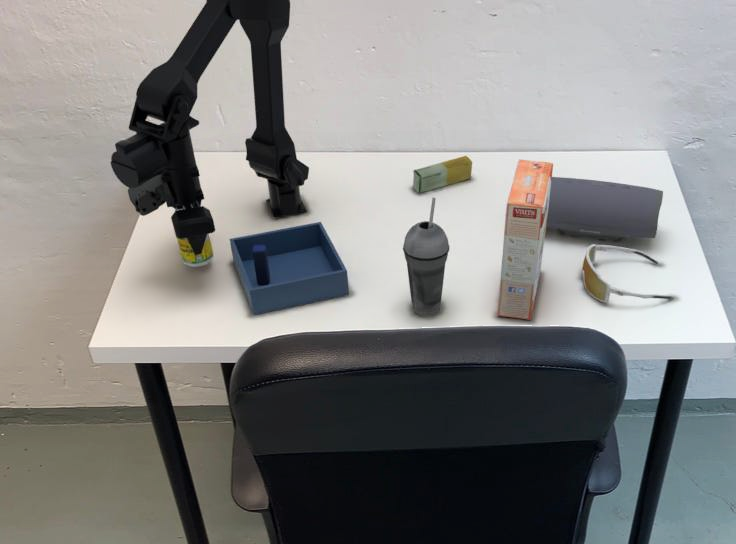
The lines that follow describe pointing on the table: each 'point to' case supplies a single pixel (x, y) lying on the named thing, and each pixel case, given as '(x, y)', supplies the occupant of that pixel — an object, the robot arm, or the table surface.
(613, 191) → the bluetooth speaker
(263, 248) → the eraser
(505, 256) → the cracker box
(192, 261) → the supplement bottle
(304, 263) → the storage box
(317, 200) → the table surface
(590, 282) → the sunglasses
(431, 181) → the medication box
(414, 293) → the beverage cup
